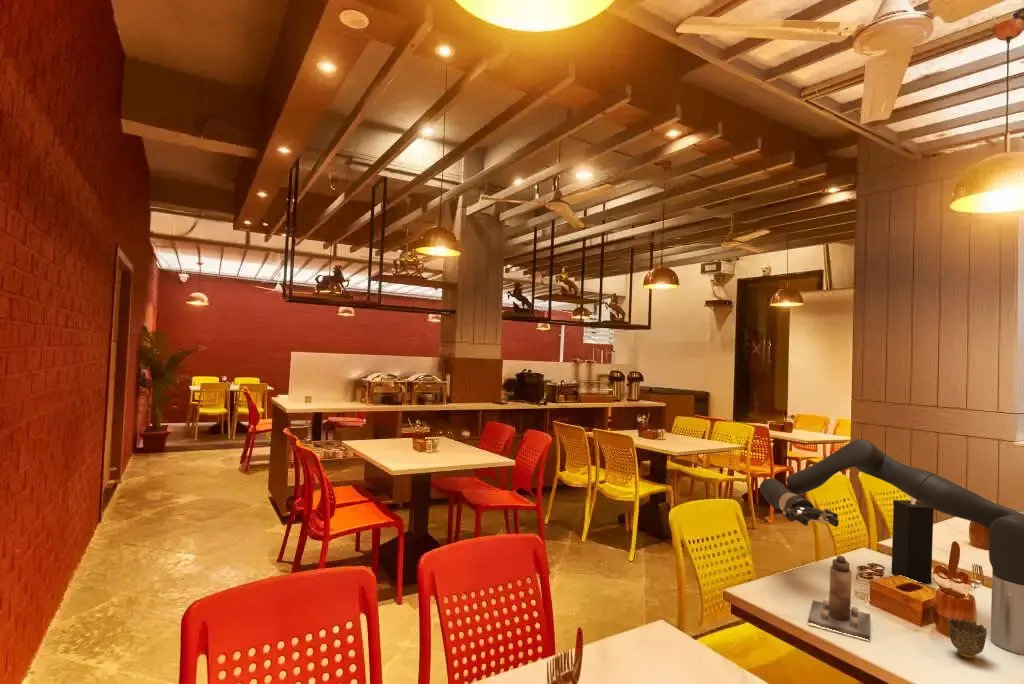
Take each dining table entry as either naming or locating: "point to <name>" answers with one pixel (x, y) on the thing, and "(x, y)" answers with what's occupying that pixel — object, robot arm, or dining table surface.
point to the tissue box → (912, 540)
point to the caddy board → (854, 626)
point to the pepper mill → (840, 589)
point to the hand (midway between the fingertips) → (821, 522)
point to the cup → (967, 637)
